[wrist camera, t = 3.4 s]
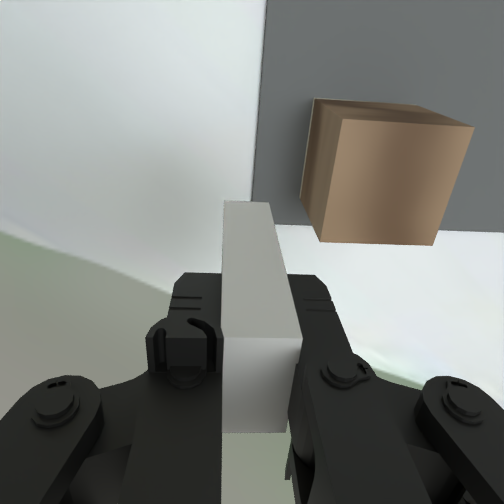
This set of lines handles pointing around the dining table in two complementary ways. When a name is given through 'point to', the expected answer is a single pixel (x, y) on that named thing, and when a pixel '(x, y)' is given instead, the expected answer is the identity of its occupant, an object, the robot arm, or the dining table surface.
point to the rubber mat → (384, 89)
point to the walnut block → (380, 171)
